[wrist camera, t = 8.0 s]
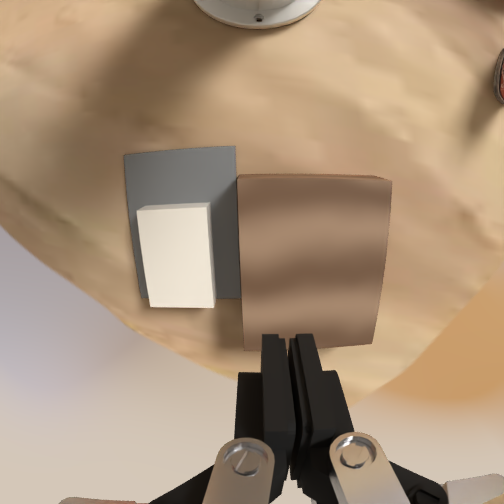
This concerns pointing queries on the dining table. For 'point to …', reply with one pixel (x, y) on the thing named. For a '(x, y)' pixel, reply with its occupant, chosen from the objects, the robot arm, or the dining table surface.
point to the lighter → (499, 79)
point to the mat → (190, 191)
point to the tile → (178, 254)
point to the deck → (312, 256)
